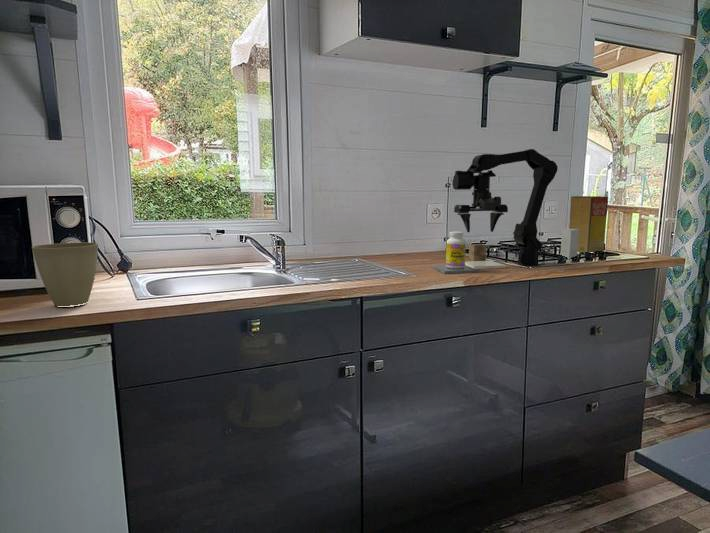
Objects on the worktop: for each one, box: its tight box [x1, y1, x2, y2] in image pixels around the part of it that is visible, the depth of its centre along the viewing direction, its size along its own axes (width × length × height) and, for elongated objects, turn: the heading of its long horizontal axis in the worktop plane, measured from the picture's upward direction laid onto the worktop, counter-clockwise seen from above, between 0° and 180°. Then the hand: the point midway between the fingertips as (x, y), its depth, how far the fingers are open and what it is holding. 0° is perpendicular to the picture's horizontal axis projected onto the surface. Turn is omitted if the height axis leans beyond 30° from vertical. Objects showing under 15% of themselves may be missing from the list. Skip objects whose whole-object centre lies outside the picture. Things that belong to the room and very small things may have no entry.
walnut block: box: [468, 243, 487, 261], centre depth 195 cm, size 5×5×7 cm
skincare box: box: [559, 228, 579, 260], centre depth 201 cm, size 6×4×12 cm
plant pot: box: [31, 242, 99, 306], centre depth 128 cm, size 15×15×16 cm
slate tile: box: [432, 264, 478, 275], centre depth 176 cm, size 12×12×1 cm
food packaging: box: [568, 195, 609, 253], centre depth 218 cm, size 13×9×25 cm
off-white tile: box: [465, 260, 506, 270], centre depth 185 cm, size 12×12×1 cm
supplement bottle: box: [445, 230, 467, 269], centre depth 175 cm, size 7×7×13 cm
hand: (480, 232), depth 182 cm, fingers open, 9 cm apart
